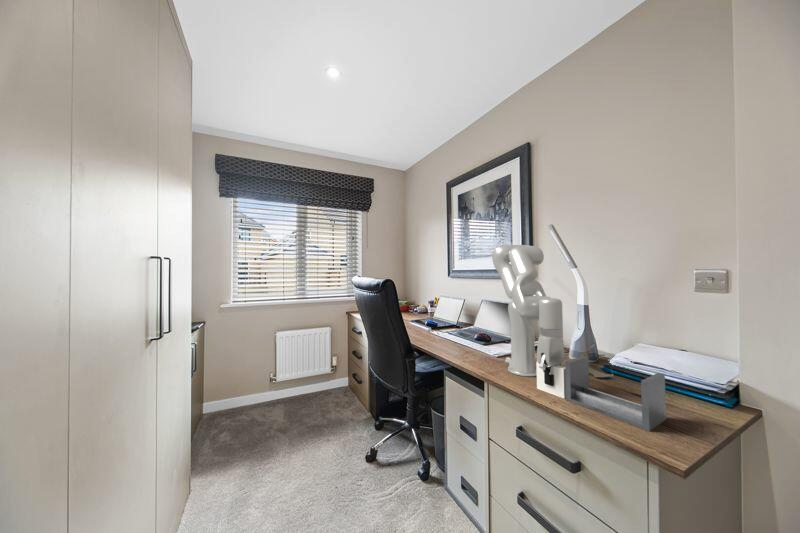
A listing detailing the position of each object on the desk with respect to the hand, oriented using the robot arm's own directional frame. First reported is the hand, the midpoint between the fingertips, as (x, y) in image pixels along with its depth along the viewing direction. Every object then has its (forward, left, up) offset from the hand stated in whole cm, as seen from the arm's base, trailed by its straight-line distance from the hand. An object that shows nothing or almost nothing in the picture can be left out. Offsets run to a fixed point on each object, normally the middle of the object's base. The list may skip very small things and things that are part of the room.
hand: (552, 383), depth 100 cm
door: (0, 0, -3) cm, 3 cm away
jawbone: (-3, +33, -4) cm, 33 cm away
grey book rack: (+17, +4, -3) cm, 18 cm away
